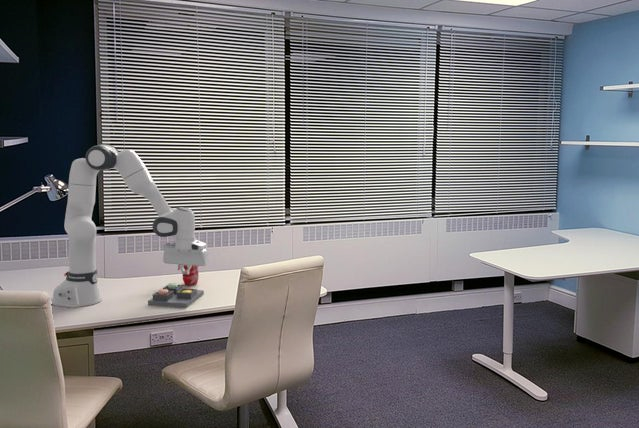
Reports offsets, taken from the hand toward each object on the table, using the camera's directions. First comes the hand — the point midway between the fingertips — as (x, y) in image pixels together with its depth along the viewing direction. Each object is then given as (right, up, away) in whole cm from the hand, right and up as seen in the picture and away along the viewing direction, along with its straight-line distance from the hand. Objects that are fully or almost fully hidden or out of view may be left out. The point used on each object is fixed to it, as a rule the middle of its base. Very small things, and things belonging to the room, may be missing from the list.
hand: (185, 274), depth 265 cm
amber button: (0, -10, +2) cm, 10 cm away
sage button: (-8, -7, +8) cm, 14 cm away
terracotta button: (-10, -9, -2) cm, 13 cm away
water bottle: (-5, -8, +28) cm, 30 cm away
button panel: (-5, -12, +3) cm, 13 cm away
